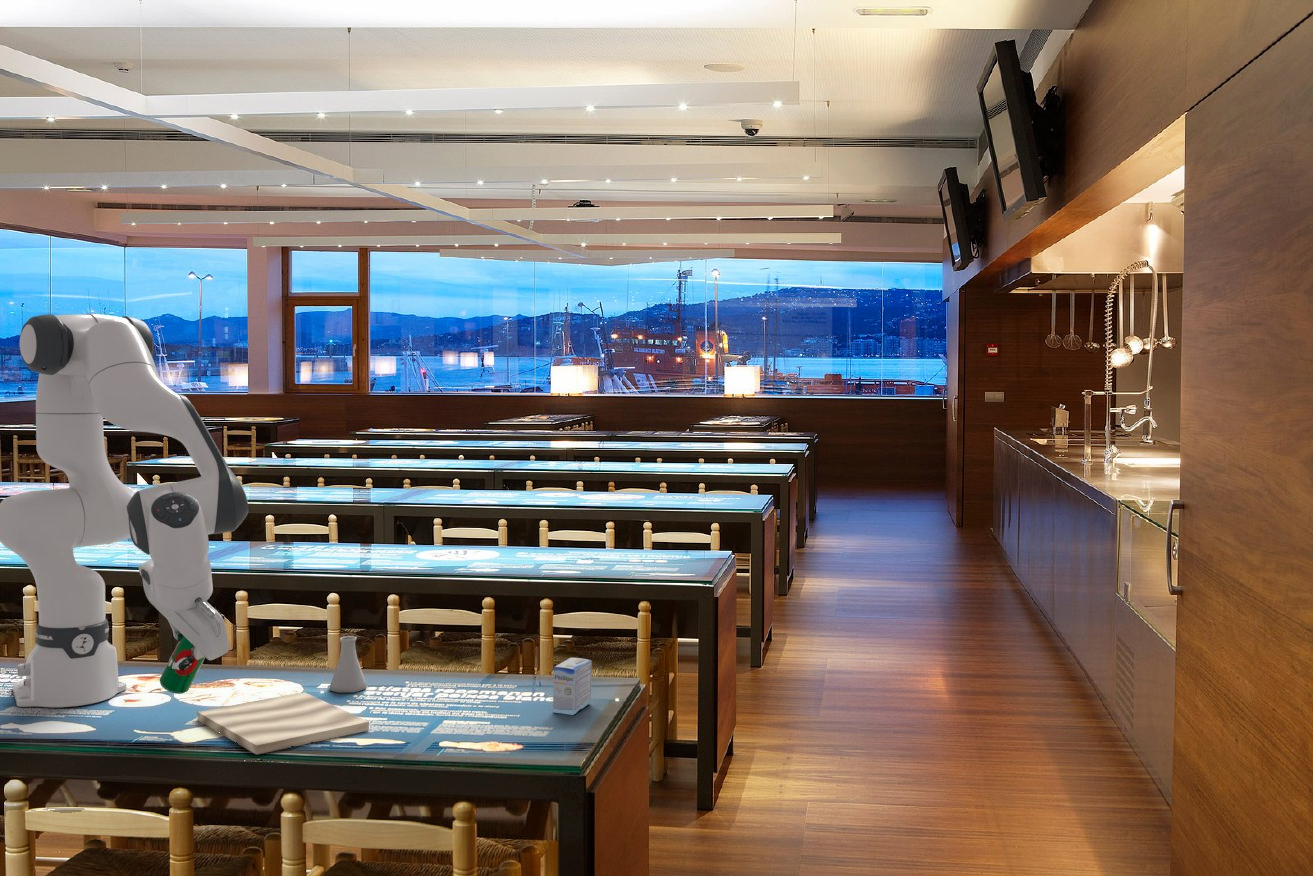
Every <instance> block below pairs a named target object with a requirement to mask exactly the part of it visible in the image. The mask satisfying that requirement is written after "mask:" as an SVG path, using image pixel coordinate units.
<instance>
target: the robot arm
mask: <svg viewBox="0 0 1313 876" xmlns="http://www.w3.org/2000/svg"><path fill="white" fill-rule="evenodd" d="M19 335H20V336H19V351H20V352H19V353H20V356H21V357H20V358H21V360H22V362H23V364H24V365H26V367H27V368H28V369H29V370H30V371H32V372H35V373H37V374H38V379H37V384H36V385H37V387H36V394H35V395H36V397H35V432H36V434H35V439H36V441H35V442H36V443H35V444H36V446H35V447H36V452H37V454H38V457H39V458H40V459H41V460H42V461H43V462H44V463H45V464H47V465H49V466H51V467H53V468H55V469H58V470H60V471H62V472H64V474H65V475H66V477H67V480H68V484H69V485H68V486H69V488H55V489H54V488H53V489H40V490H37V489H36V490H30V491H27V492H22V493H17V494H14V495H11V496H8V497H4V498H3V499H2V501H1V502H0V543H1V544H2V546H3V547H5V548H7V550H9V551H11V552H13V553H14V554H16V555H17V556H18V557H20V559H22V560H23V561H24V562H25V564H26V565H27V566H28V568H29V570H30V572H31V573H32V576H33V578H34V580H35V586H36V592H37V606H38V624H36V629H35V632H34V635H35V639H34V643H35V646H34V647H33V648H32V650H31V652H30V653H29V654H28V656H27V657H26V660H25V663H19V664H17V676H18V677H19V678H20V677H22V678H23V677H25V679H24V680H20V681H17V682H14V683H13V684H12V692H13V695H14V700H15V703H16V707H19V708H21V707H23V708H24V707H42V708H69V707H79V706H85V705H92V704H96V703H99V702H102V701H103V702H104V701H106V700H108V699H111V698H113V697H114V696H115V695H116V694H118V693H121V692H124V691H125V690H127V689H128V688H127V687H128V686H127V683H126V682H123V681H120V680H119V669H118V668H119V667H118V666H119V665H118V653H117V648H116V646H114V645H112V644H111V643H110V642H109V640H108V639H109V631H110V628H109V627H110V626H109V620H108V619H107V618H106V583H105V580H104V579H103V577H102V576H101V575H100V573H99V572H97V571H96V570H94V569H92V568H90V567H88V566H84V565H83V564H79V563H78V562H77V561H76V559H75V555H74V549H75V548H85V547H93V546H94V547H95V546H102V545H110V544H113V543H117V542H121V541H125V540H127V539H130V538H131V542H132V543H133V545H134V547H136V548H137V549H139V550H140V551H142V553H144V554H146V555H148V556H149V555H150V559H149V560H146V561H144V562H143V563H141V564H139V565H138V572H139V575H140V576H141V578H142V584H143V591H144V593H145V596H146V598H147V600H148V601H149V603H150V604H151V605H152V606H153V607H154V608H155V609H156V610H157V611H158V612H160V614H161V615H162V616H163V617H165V618H166V620H167V621H168V624H169V625H170V628H171V629H172V634H173V635H172V636H173V637H174V639H175V640H176V641H178V642H179V641H180V639H181V637H182V635H184V636H185V637H186V638H187V639H188V640H189V641H190V642H191V643H192V644H193V645H194V646H195V647H193V648H191V652H192V655H193V656H194V657H195V658H196V659H197V660H199V659H201V658H203V657H205V659H207V660H208V661H213V660H215V659H218V658H219V657H220V658H221V657H222V656H223V655H226V654H227V653H228V652H229V651H230V642H229V636H228V635H229V634H228V630H227V626H226V622H225V620H224V617H223V616H222V615H221V613H220V612H218V611H217V609H215V608H214V607H213V606H212V605H211V604H210V602H208V600H209V599H210V597H211V596H212V594H213V592H214V591H213V590H214V588H213V586H214V585H213V577H212V565H211V562H210V561H211V560H209V557H208V554H209V550H210V542H209V535H218V534H225V533H231V532H235V531H236V530H238V528H239V526H240V525H242V523H243V522H244V520H245V519H246V518H247V516H248V513H249V502H248V496H247V493H246V491H245V490H244V487H243V485H242V484H241V482H240V480H239V479H238V478H237V476H236V475H235V474H234V472H233V470H232V469H231V468H230V466H229V465H228V463H227V462H226V460H225V458H224V456H223V455H222V453H221V451H220V449H219V448H218V446H217V444H216V442H215V441H214V438H213V437H212V435H211V433H210V432H209V430H208V428H207V426H206V424H205V423H204V421H203V419H202V417H201V416H200V414H199V413H198V411H197V410H196V408H195V406H194V404H192V402H191V401H190V400H189V398H188V397H186V396H185V395H184V394H180V393H176V392H175V391H174V390H172V389H171V388H170V387H169V386H168V385H166V383H165V382H164V381H163V380H162V379H161V377H160V375H159V372H158V368H157V366H156V364H155V361H154V359H153V358H154V357H153V356H154V353H155V351H154V350H155V342H154V336H153V333H152V331H151V329H150V327H149V326H148V325H147V323H146V322H145V321H143V320H141V319H138V318H136V317H135V318H134V317H132V316H125V315H123V316H116V315H110V314H109V315H108V314H103V313H102V314H101V313H83V314H81V313H77V314H73V313H72V314H58V315H57V314H56V315H54V314H53V313H47V314H46V313H45V314H40V315H34V316H32V317H29V318H28V319H27V321H26V322H25V323H24V324H23V326H22V327H21V331H20V334H19ZM104 420H106V421H107V422H109V423H110V424H113V426H116V427H118V428H121V429H124V430H128V431H132V432H143V433H152V434H158V435H163V436H167V437H171V438H173V439H175V440H177V441H178V442H180V443H181V444H182V445H183V446H184V448H186V450H187V452H188V454H189V456H190V459H191V460H192V462H193V463H194V465H195V467H196V469H197V470H198V473H199V474H200V476H199V477H195V478H190V479H185V480H181V481H176V482H171V483H166V484H165V483H164V484H160V485H156V486H155V485H154V486H150V487H146V488H143V489H140V490H136V492H134V490H132V489H131V488H130V487H128V486H127V485H125V484H124V483H123V482H122V481H121V480H120V479H119V478H118V477H117V475H116V474H115V473H114V470H113V469H112V467H111V465H110V462H109V460H108V457H107V454H106V445H105V436H104Z"/></svg>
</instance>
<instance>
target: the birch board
mask: <svg viewBox="0 0 1313 876" xmlns="http://www.w3.org/2000/svg"><path fill="white" fill-rule="evenodd" d="M196 714H197V715H196V716H197V718H196V719H197V721H198V722H200V723H202V724H203V725H205V726H207V727H208V728H210V729H212V730H213V731H215V732H217V733H218V732H220V733H221V734H220V733H219V734H220V735H222V736H223V737H226V738H227V737H228V738H227V739H229V738H230V739H231V740H230V739H229V740H230V741H232V742H235V743H236V742H237V743H238V744H237V743H236V744H237V745H239V746H241V747H243V748H244V749H246V750H247V751H249V752H250V753H253V754H254V755H261V754H265V753H269V752H270V753H271V752H275V751H280V750H284V749H288V748H289V749H290V748H292V747H291V746H294V747H298V746H303V745H307V744H311V742H313V743H317V742H321V741H326V740H330V739H329V738H331V739H335V738H334V737H336V738H340V737H346V736H349V735H354V734H359V733H362V732H363V733H364V732H368V731H369V730H370V728H369V727H370V724H369V723H370V722H369V721H368V720H366V719H364V718H362V717H361V716H360V717H359V716H357V715H355V714H353V713H350V712H348V711H346V710H344V709H342V708H340V707H338V706H335V705H333V704H331V703H329V702H327V701H324V700H322V699H321V698H318V697H316V696H314V695H311V694H309V693H307V692H306V691H304V692H298V693H292V694H286V695H282V696H276V697H271V698H265V699H258V700H254V701H253V700H252V701H249V702H243V703H239V704H232V705H227V706H223V707H222V706H220V707H217V708H210V709H206V710H199V711H197V713H196Z"/></svg>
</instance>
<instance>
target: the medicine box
mask: <svg viewBox="0 0 1313 876" xmlns="http://www.w3.org/2000/svg"><path fill="white" fill-rule="evenodd" d="M592 662H593V661H592V660H591V659H587V658H581V657H580V658H579V657H569V658H567V659H566V660H564V661H562V662H561V663H559V664H556V665H555V666H553V679H552V680H553V682H552V683H553V686H552V710H553V709H558V710H576V709H577V708H579V707H580V706H581V705H583V704H584V703H585V702H586V701H588V700H590V699H592V673H593V671H592V666H593V665H592Z"/></svg>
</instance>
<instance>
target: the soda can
mask: <svg viewBox="0 0 1313 876" xmlns="http://www.w3.org/2000/svg"><path fill="white" fill-rule="evenodd" d="M193 647H195V646H194V645H193V644H192V643H191V642H190V641H189V640H188V639H187V638H186V637H185V636H184V635H182V637H181V639H180V641H178V643H177V644H176V646H175V649H174V650H173V652H172V654H171V656H170V658H169V660H168V662H167V664H166V666H165V668H164V670H163V672H162V673H161V676H160V677H159V683H160V686H161V687H162V688H163V689H164V690H165V691H167V692H169V693H172V694H175V695H181V694H185V693H188V691H189V690H190V688H191V686H192V684H193V682H194V680H195V678H196V676H197V674H198V673H199V671H200V669H201V668H202V665H203V663H204V661H205V659H206V657H203V658H201V659H199V660H197V659H196V658H195V657H194V656H193V655H192V652H191V648H193Z"/></svg>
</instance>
